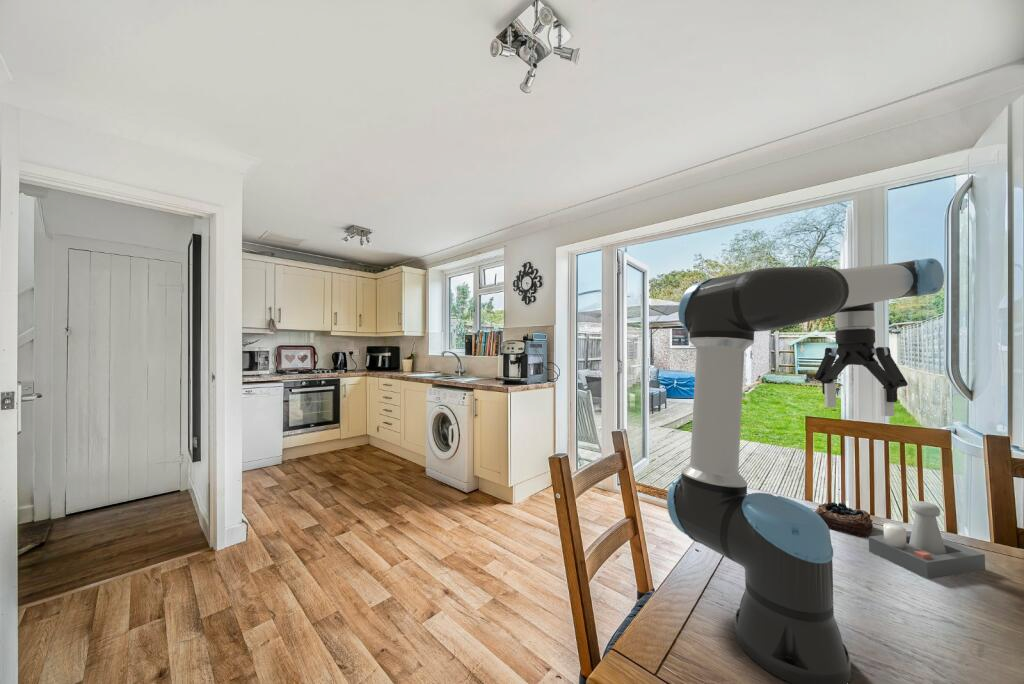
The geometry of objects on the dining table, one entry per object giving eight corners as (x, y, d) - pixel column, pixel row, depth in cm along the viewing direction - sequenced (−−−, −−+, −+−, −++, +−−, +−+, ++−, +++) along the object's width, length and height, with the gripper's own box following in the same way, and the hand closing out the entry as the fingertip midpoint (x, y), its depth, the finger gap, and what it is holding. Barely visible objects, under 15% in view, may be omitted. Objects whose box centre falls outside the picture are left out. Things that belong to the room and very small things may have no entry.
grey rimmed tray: (927, 579, 78) (926, 543, 78) (869, 551, 89) (867, 520, 89) (985, 570, 81) (983, 535, 81) (921, 544, 91) (920, 513, 92)
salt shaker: (955, 568, 81) (953, 509, 82) (924, 566, 82) (922, 507, 83) (931, 554, 87) (928, 498, 87) (902, 552, 88) (900, 497, 88)
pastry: (871, 541, 94) (870, 517, 94) (811, 524, 103) (810, 503, 103) (874, 526, 101) (873, 505, 101) (818, 512, 110) (817, 493, 110)
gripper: (927, 325, 83) (930, 419, 83) (819, 331, 108) (822, 403, 107) (899, 325, 82) (903, 420, 82) (797, 331, 107) (799, 404, 106)
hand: (857, 411), depth 94 cm, fingers open, 13 cm apart
